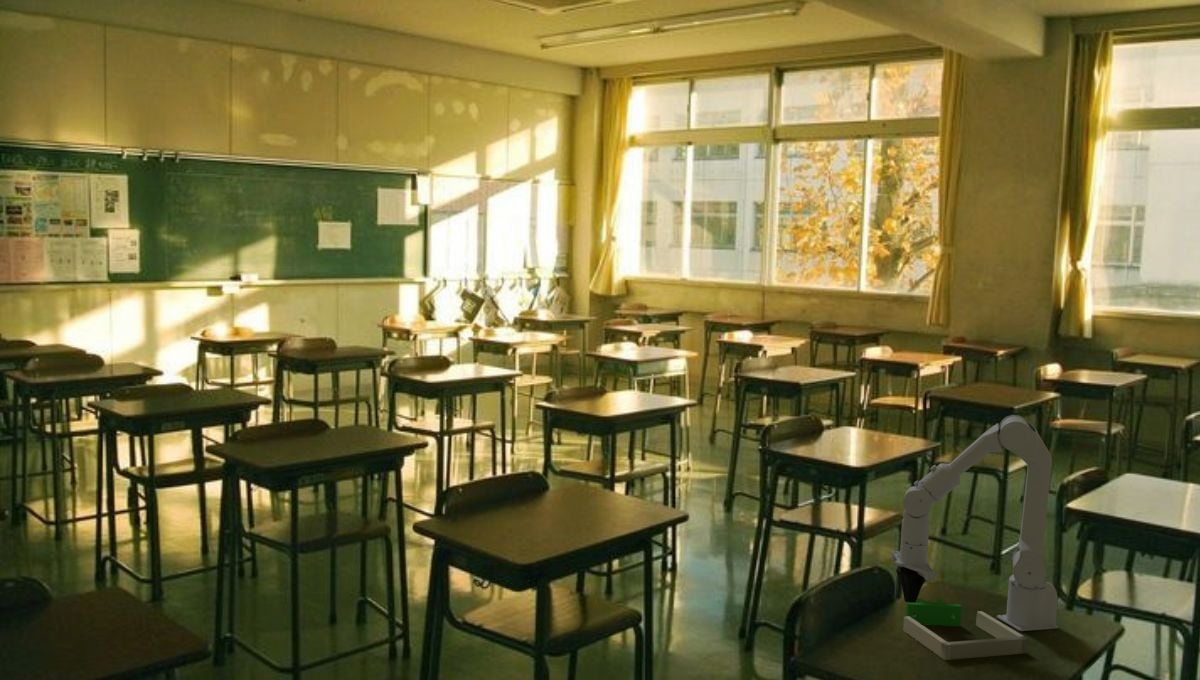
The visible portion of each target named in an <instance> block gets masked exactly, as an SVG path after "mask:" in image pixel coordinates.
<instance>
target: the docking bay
mask: <svg viewBox="0 0 1200 680" xmlns="http://www.w3.org/2000/svg"><path fill="white" fill-rule="evenodd" d="M902 626H903V629H902V630H903V632H904V633H906V634H907V635H908V634H909V636H910V637H911V638H913V639H914V638H915V639H914V640H915V641H917V642H918V641H919V643H920V644H921V645H922V646H924V647H925V648H927V649H928V650H929V651H931V652H932V651H933V652H932V653H934V655H937V656H938V657H940V658H941V659H942V660H944V661H948V660H964V659H973V658H974V659H975V658H985V657H987V658H988V657H996V656H997V657H998V656H1009V655H1010V656H1011V655H1022V654H1027V653H1028V643H1029V639H1028V637H1025V636H1024V635H1023V634H1021V633H1019V632H1018V631H1016V630H1015V629H1014V628H1011V627H1009V626H1008V625H1006V624H1004V623H1002V622H1001V621H999V619H998V620H997V619H996V618H995V617H992V616H991V615H989V614H987V613H986V612H984V611H983V610H982V611H979V610H978V611H976V620H975V626H976V627H977V628H980V629H981V630H982V631H985V632H986V633H988V635H990V636H992V637H994V638H984V639H982V638H981V639H972V640H959V641H958V640H957V641H946V639H943V638H942V637H941V636H939V635H937V634H936V633H935V632H934V631H931V629H928V627H926V626H925V625H921V624H920V623H918V622H917V621H916V620H914V619H913V618H911V617H910V616H906V615H905V616H903V625H902Z"/></svg>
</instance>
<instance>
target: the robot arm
mask: <svg viewBox="0 0 1200 680" xmlns="http://www.w3.org/2000/svg"><path fill="white" fill-rule="evenodd" d="M1004 448H1005V449H1006V450H1008V451H1010V452H1011V453H1013V454H1014V455H1017V456H1019V458H1020V459H1021V460H1022V461H1023V462H1024V463H1025V464H1026V465H1027V469H1026V478H1025V488H1024V494H1023V495H1024V497H1023V504H1022V505H1023V506H1022V515H1021V522H1020V526H1021V527H1020V533H1019V538H1018V543H1017V544H1018V545H1017V548H1016V550H1015V551H1014V552H1013V554H1012V557H1011V563H1012V566H1013V569H1012V575H1010V576H1009V578H1008V588H1007V589H1008V590H1007V602H1006V613H1005V614H997V615H996V618H997V619H998V620H1000V621H1002V622H1004V623H1005V624H1007V625H1009V626H1011V627H1012V628H1013V629H1014V630H1017V631H1019V632H1026V631H1027V632H1028V631H1042V630H1043V631H1044V630H1054V629H1059V626H1058V625H1057V613H1058V601H1059V600H1058V599H1059V598H1058V597H1059V595H1058V592H1057V590H1056V588H1055V586H1054V585H1053V584H1052V583H1050V582H1049V581H1046V577H1047V571H1046V567H1045V564H1044V561H1045V560H1044V538H1045V530H1046V522H1047V521H1046V520H1047V512H1048V505H1049V504H1048V502H1049V495H1050V485H1051V477H1052V474H1051V473H1052V469H1053V468H1052V466H1053V458H1052V455H1051V452H1050V450H1048V447H1047V446H1046V444H1045V443H1044V440H1042V438H1041V436H1040V434H1039V433H1038V431H1037V429H1036V427H1035V426H1034V425H1033V424H1032V423H1031V422H1029V420H1027V419H1025V417H1023V416H1021V415H1017V414H1013V415H1007V416H1005V417H1004V418H1003V419H1002V420H1001V422H1000V423H995V425H993V426H991V427H990V428H989V429H987V430H986V431H985V432H983V433H982V434H981V435H980V436H979V437H978V438H977V439H975V440H974V441H973V442H972V443H971V444H970V445H969V446H967V448H966V449H964V450H963V451H962V452H961V453H960V454H959V455H958V456H956V457H955V458H954V460H952V461H951V462H950V463H942V462H941V463H939V464H938V465H937V466H936V464H934V465H932V466H931V467H930V469H929V470H930V472H929V473H928V474H926V475H925V476H924V477H923V478H921V479H920V480H916V481H914V483H913V485H914V486H910V487H908V489H907V490H906V491H905V493H904V496H903V499H902V506H903V513H902V517H903V518H902V521H901V531H900V532H901V534H900V547H899V548H900V549H899V550H894V551H893V550H892V551H891V556H890V557H891V558H890V560H891V561H894V565H896V566H897V567H898V568H896V569H895V570H896V571H895V572H896V574H897V575H898V578H899V580H900V584H901V588H902V589H901V590H902V594H903V600H904V602H905V603H907V602H910V603H917V599H919V595H920V592H921V589H922V588H923V585H924V584H925V583H926V582H934V581H936V574H937V573H936V571H935V570H934V569H933V568H932V567H931V566H930V564H929V563H928V550H929V534H930V521H929V517H930V516H929V515H930V514H929V513H930V511H931V510H932V504H936V503H938V502H939V501H941V500H943V498H944V497H946V496H947V495H948V494H949V493H950V492H952V491H953V490H954V489H955V488H956V487H958V486H959V485H960V483H961V475H962V474H964V473H965V472H966V471H968V470H969V469H971V467H973V466H974V465H976V464H977V463H978V462H980V461H981V460H982V459H983V458H984V457H986V456H987V455H989V454H990V453H991V454H992V453H993V454H994V453H995V454H996V453H1004Z"/></svg>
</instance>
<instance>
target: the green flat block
mask: <svg viewBox="0 0 1200 680" xmlns="http://www.w3.org/2000/svg"><path fill="white" fill-rule="evenodd" d="M962 607H963V606H962V605H961V604H958V603H955V604H954V603H953V604H952V603H946V602H945V601H944V600H943V599H940V598H939V599H938V600H937V601H927V600H923V599H922V598H917V601H916V603H910V602H906V608H905V617H906V616H910V617H911V618H913V619H914V620H916V621H917V622H918V623H920V624H924V625H923V626H937V625H941V627H961V621H962V618H961V617H962ZM914 613H915V614H914ZM913 614H914V615H913ZM952 615H953V616H952ZM925 624H926V625H925ZM927 624H929V625H927ZM942 625H943V626H942Z"/></svg>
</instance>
